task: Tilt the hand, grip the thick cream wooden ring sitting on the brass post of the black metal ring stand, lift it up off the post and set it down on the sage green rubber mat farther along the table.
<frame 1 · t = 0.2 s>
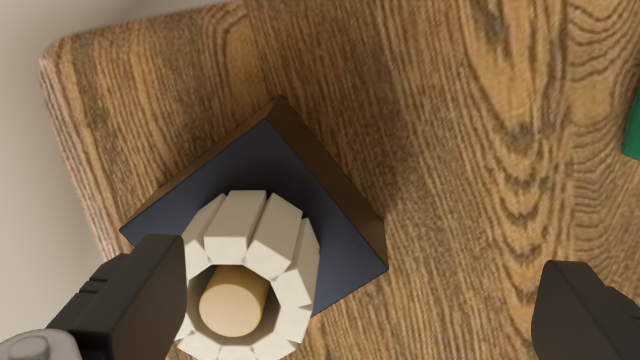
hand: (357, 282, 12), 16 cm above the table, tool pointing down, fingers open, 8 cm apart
ring stand: (269, 206, 29), on the table
ring: (253, 250, 24), point 5 cm above the table, touching ring stand
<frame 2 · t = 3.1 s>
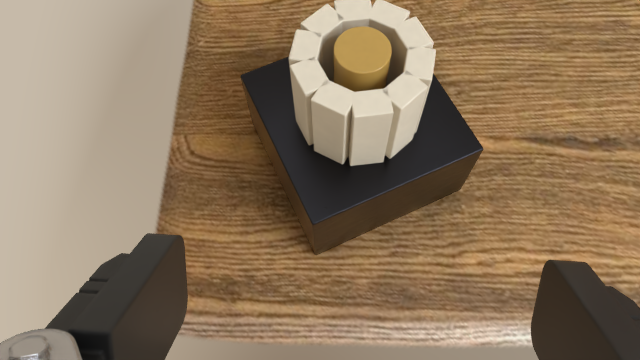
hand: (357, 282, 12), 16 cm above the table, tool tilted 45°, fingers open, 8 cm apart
ring stand: (353, 155, 31), on the table
ring: (357, 110, 26), point 5 cm above the table, touching ring stand
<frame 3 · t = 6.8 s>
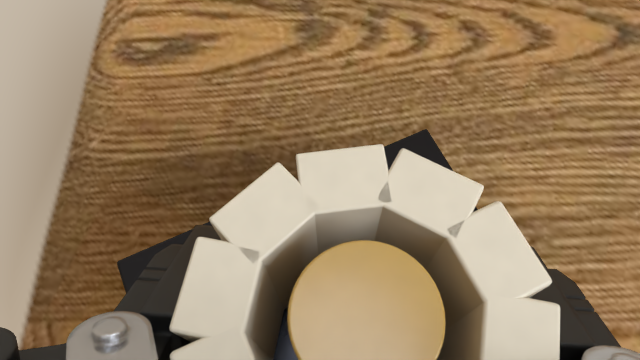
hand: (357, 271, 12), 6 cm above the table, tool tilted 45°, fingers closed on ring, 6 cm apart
ring: (353, 349, 12), point 5 cm above the table, touching gripper, ring stand
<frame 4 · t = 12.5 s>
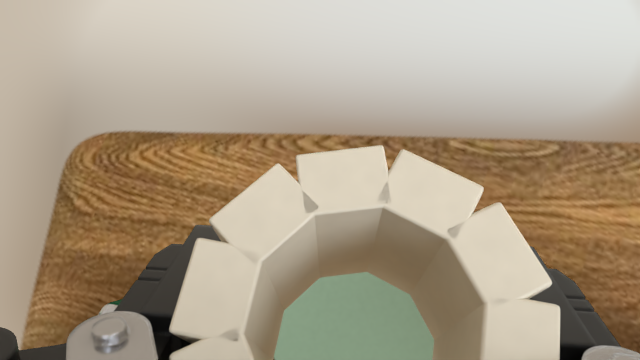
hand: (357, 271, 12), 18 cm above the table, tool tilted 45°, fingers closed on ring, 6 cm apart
mat: (356, 319, 30), on the table
ring: (353, 350, 12), point 18 cm above the table, touching gripper
when the fingers open (2 cm above the table, at t = 18.0 s): ring stays where it is, resting on mat.
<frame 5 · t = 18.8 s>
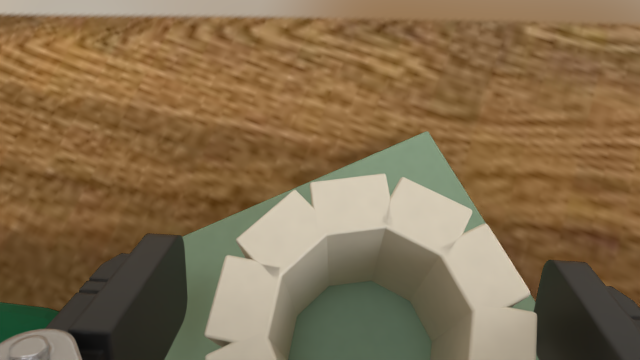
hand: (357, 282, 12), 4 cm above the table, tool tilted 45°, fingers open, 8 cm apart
mat: (354, 355, 15), on the table
ring: (359, 351, 14), point 1 cm above the table, touching mat
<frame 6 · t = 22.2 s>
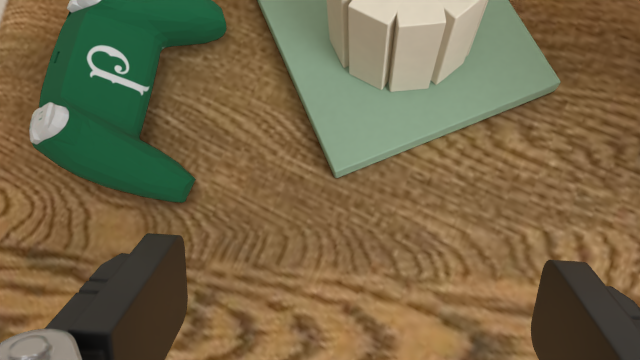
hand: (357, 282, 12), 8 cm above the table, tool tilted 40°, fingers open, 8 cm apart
mat: (396, 40, 24), on the table
gaming controller: (151, 104, 23), on the table
ring: (400, 29, 23), point 1 cm above the table, touching mat
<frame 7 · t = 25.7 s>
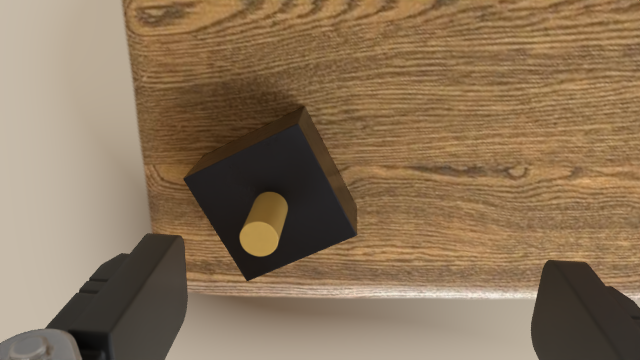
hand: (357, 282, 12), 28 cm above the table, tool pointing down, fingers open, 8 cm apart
ring stand: (280, 181, 41), on the table
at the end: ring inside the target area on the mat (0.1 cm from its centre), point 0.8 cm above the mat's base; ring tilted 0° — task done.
